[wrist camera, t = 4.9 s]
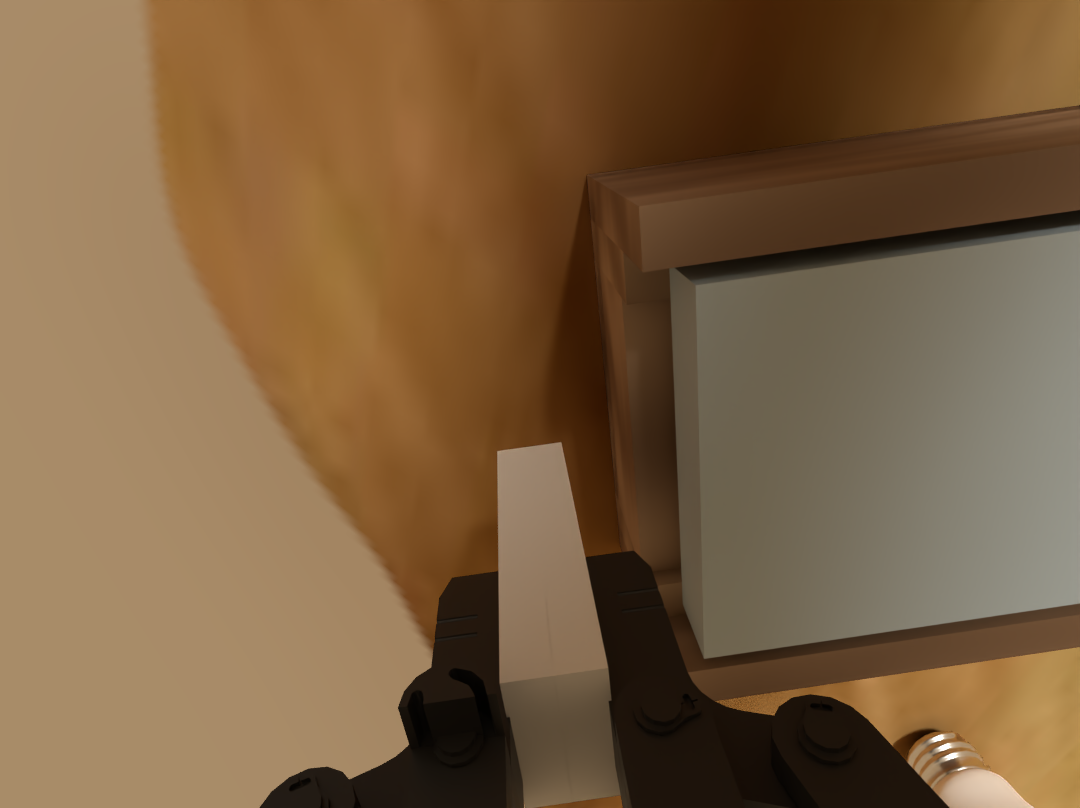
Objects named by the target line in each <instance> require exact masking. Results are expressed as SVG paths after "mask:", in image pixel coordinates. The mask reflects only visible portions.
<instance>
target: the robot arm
mask: <svg viewBox="0 0 1080 808" xmlns="http://www.w3.org/2000/svg"><path fill="white" fill-rule="evenodd" d="M497 469H498V571H497V572H490V573H483V574H476V575H469V576H462V577H455V578H452V579H451V581H450V582H449V584H448V585H447V587H446V588H445V590H444V592H443V593H442V595H441V596H440V598H439V606H438V614H437V624H436V632H435V643H434V649H433V658H432V667H431V668H430V669H428V670H427V671H426V672H424V673H422V674H421V675H419V676H418V677H416V678H415V679H414V681H413V682H412V683H411V684H410V685H409V686H408V688H407V689H406V690H405V691H404V694H403V696H402V699H401V701H400V704H399V707H398V709H399V712H400V715H401V719H402V722H403V725H404V729H405V732H406V735H407V738H408V741H409V745H408V747H406V748H405V749H404V750H403V751H402V752H401V753H400V754H398V755H397V756H396V757H394V758H393V759H391V760H389V761H387V762H386V763H384V764H382V765H380V766H378V767H376V768H374V769H371V770H370V771H367V772H365V773H363V774H361V775H358V776H356V777H354V778H352V779H350V780H349V779H348V778H347V777H346V776H345V774H344V773H343V772H341V771H338V770H335V769H332V768H329V767H320V768H311V769H307V770H305V771H303V772H300V773H298V774H296V775H294V776H292V777H289V778H288V779H287V780H286V781H284V782H283V783H282V784H281V785H279V786H278V787H277V788H276V789H274V790H273V791H272V792H271V793H270V795H269V796H268V797H267V799H266V800H265V801H264V803H263V804H262V805H261V806H260V808H524V804H525V808H536V807H543V806H550V805H557V804H564V803H570V802H577V801H584V800H591V799H598V798H605V797H612V796H619V795H621V799H622V804H623V808H949V806H948V805H947V804H946V803H945V802H944V801H943V800H942V799H941V798H940V797H939V796H938V795H937V794H936V793H935V791H934V790H933V789H932V788H931V787H930V786H929V785H928V784H927V783H926V782H925V781H924V780H923V779H922V777H921V776H920V775H919V774H918V773H917V772H916V771H915V770H914V769H913V768H912V767H911V766H910V765H909V764H908V762H907V761H906V760H905V759H904V758H903V757H902V756H901V755H900V754H899V753H898V752H897V751H896V750H895V748H894V747H893V746H892V745H891V744H890V743H889V742H888V741H887V740H886V739H885V738H884V737H883V736H882V735H881V733H880V732H879V731H878V730H877V729H876V728H875V727H874V726H873V725H872V724H871V723H870V722H869V721H868V720H867V719H866V718H865V717H864V716H862V715H861V714H860V713H859V712H857V711H856V710H855V709H854V708H852V707H851V706H849V705H847V704H845V703H842V702H840V701H838V700H836V699H833V698H831V697H825V696H818V695H811V694H810V695H804V696H799V697H793V698H791V699H790V700H788V701H787V702H785V703H784V704H782V705H781V706H779V708H778V710H777V712H776V714H775V716H772V715H766V714H759V713H753V712H746V711H741V710H737V709H733V708H729V707H726V706H724V705H722V704H719V703H717V702H715V701H713V700H712V699H710V698H709V697H708V696H706V695H705V694H704V693H702V692H701V691H700V690H699V688H698V687H697V686H696V685H695V684H694V683H693V681H692V679H691V677H690V675H689V673H688V672H687V669H686V666H685V663H684V660H683V657H682V655H681V652H680V649H679V646H678V643H677V640H676V637H675V635H674V632H673V629H672V626H671V623H670V620H669V617H668V615H667V612H666V609H665V608H664V603H663V600H662V597H661V594H660V592H659V591H658V586H657V583H656V580H655V577H654V574H653V572H652V569H651V566H650V565H649V564H648V563H646V562H645V561H644V560H643V559H642V558H641V557H640V556H639V555H638V554H637V553H636V552H635V551H627V552H620V553H613V554H606V555H598V556H591V557H585V554H584V549H583V544H582V539H581V535H580V530H579V525H578V520H577V515H576V511H575V506H574V501H573V496H572V491H571V486H570V482H569V477H568V472H567V467H566V462H565V458H564V453H563V448H562V443H561V442H559V443H552V444H545V445H538V446H530V447H523V448H516V449H509V450H502V451H497Z"/></svg>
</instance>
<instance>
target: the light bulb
mask: <svg viewBox="0 0 1080 808" xmlns="http://www.w3.org/2000/svg"><path fill="white" fill-rule="evenodd" d="M906 759H907V762H908V764H909V765H910V766H911V767H912V768H913V769H914V770H915V771H916V772H917V773H918V774H919V775H920V776H921V777H922V779H923V780H924V781H925V782H926V783H927V784H928V785H929V786H930V787H931V788H932V789H933V790H934V791H935V793H936V794H937V795H938V796H939V797H940V798H941V799H942V800H943V801H944V802H945V803H946V804H947V805H948V806H949V808H1034V807H1032V806H1031V805H1030V804H1028V803H1027V802H1026V801H1025V800H1024V799H1023V798H1022V797H1021V796H1020V795H1019V794H1018V793H1017V792H1016V791H1015V790H1014V789H1013V788H1012V786H1011V785H1010V784H1009V783H1008V782H1007V781H1006V780H1005V779H1003V778H1002V777H1001V776H999V775H998V774H995V773H993V772H991V770H990V766H988V765H984V762H983V757H982V756H981V755H979V754H978V753H977V752H976V748H975V747H974V746H973V745H971V744H970V743H969V742H966V741H965V739H964V738H963V737H961V736H960V735H959V734H958V733H955V732H953V731H949V732H948V731H943V732H933V733H929V734H926V735H924V736H922V737H921V738H920V739H918V740H917V741H916V742H915V743H914V745H913V746H912V747H911V748H910V750H909V752H908V755H907V758H906Z"/></svg>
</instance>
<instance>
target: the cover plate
mask: <svg viewBox="0 0 1080 808" xmlns="http://www.w3.org/2000/svg"><path fill="white" fill-rule="evenodd" d="M669 273H670V298H671V323H672V348H673V373H674V398H675V423H676V449H677V474H678V499H679V524H680V549H681V574H682V599H683V606H684V609H685V611H686V614H687V616H688V619H689V622H690V624H691V627H692V629H693V632H694V634H695V637H696V640H697V642H698V645H699V647H700V650H701V652H702V655H703V658H704V659H707V658H714V657H720V656H727V655H734V654H741V653H747V652H754V651H761V650H768V649H775V648H781V647H788V646H795V645H802V644H808V643H815V642H822V641H829V640H836V639H842V638H849V637H856V636H863V635H869V634H876V633H883V632H890V631H897V630H903V629H910V628H917V627H924V626H930V625H937V624H944V623H951V622H958V621H964V620H971V619H978V618H985V617H991V616H998V615H1005V614H1012V613H1019V612H1025V611H1032V610H1039V609H1046V608H1052V607H1059V606H1066V605H1073V604H1080V210H1076V211H1069V212H1062V213H1055V214H1048V215H1041V216H1034V217H1027V218H1020V219H1013V220H1006V221H999V222H992V223H985V224H978V225H971V226H964V227H957V228H950V229H942V230H935V231H928V232H921V233H914V234H907V235H900V236H893V237H886V238H879V239H872V240H865V241H858V242H851V243H844V244H837V245H830V246H823V247H816V248H809V249H802V250H795V251H788V252H781V253H774V254H767V255H760V256H753V257H746V258H739V259H732V260H725V261H718V262H711V263H704V264H697V265H690V266H683V267H676V268H669Z"/></svg>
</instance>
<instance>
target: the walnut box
mask: <svg viewBox="0 0 1080 808" xmlns="http://www.w3.org/2000/svg"><path fill="white" fill-rule="evenodd" d="M587 183H588V195H589V206H590V217H591V228H592V239H593V250H594V261H595V272H596V283H597V294H598V306H599V317H600V328H601V339H602V350H603V361H604V372H605V383H606V394H607V406H608V417H609V428H610V439H611V450H612V461H613V472H614V483H615V494H616V506H617V517H618V528H619V539H620V547H621V550H622V552H627V551H635V552H636V553H637V554H638V555H639V556H640V557H641V558H642V559H643V560H644V561H645V562H646V563H648V564H649V565H650V566H651V569H652V572H653V574H654V577H655V580H656V583H657V586H658V591H659V592H660V594H661V597H662V600H663V603H664V608H665V609H666V612H667V615H668V617H669V620H670V623H671V626H672V629H673V632H674V635H675V637H676V640H677V643H678V646H679V649H680V652H681V655H682V657H683V660H684V663H685V666H686V669H687V672H688V673H689V675H690V677H691V679H692V681H693V683H694V684H695V685H696V686H697V687H698V688H699V690H700V691H701V692H702V693H704V694H705V695H706V696H708V697H709V698H710V699H712V700H713V701H718V700H725V699H732V698H739V697H745V696H752V695H759V694H766V693H772V692H779V691H786V690H793V689H799V688H806V687H813V686H820V685H826V684H833V683H840V682H847V681H853V680H860V679H867V678H874V677H880V676H887V675H894V674H901V673H907V672H914V671H921V670H928V669H934V668H941V667H948V666H955V665H961V664H968V663H975V662H982V661H988V660H995V659H1002V658H1009V657H1015V656H1022V655H1029V654H1036V653H1042V652H1049V651H1056V650H1063V649H1069V648H1076V647H1080V604H1073V605H1066V606H1059V607H1052V608H1046V609H1039V610H1032V611H1025V612H1019V613H1012V614H1005V615H998V616H991V617H985V618H978V619H971V620H964V621H958V622H951V623H944V624H937V625H930V626H924V627H917V628H910V629H903V630H897V631H890V632H883V633H876V634H869V635H863V636H856V637H849V638H842V639H836V640H829V641H822V642H815V643H808V644H802V645H795V646H788V647H781V648H775V649H768V650H761V651H754V652H747V653H741V654H734V655H727V656H720V657H714V658H707V659H704V658H703V655H702V652H701V650H700V647H699V645H698V642H697V640H696V637H695V634H694V632H693V629H692V627H691V624H690V622H689V619H688V616H687V614H686V611H685V609H684V606H683V599H682V574H681V549H680V524H679V499H678V474H677V449H676V423H675V398H674V373H673V348H672V323H671V298H670V273H669V268H676V267H683V266H690V265H697V264H704V263H711V262H718V261H725V260H732V259H739V258H746V257H753V256H760V255H767V254H774V253H781V252H788V251H795V250H802V249H809V248H816V247H823V246H830V245H837V244H844V243H851V242H858V241H865V240H872V239H879V238H886V237H893V236H900V235H907V234H914V233H921V232H928V231H935V230H942V229H950V228H957V227H964V226H971V225H978V224H985V223H992V222H999V221H1006V220H1013V219H1020V218H1027V217H1034V216H1041V215H1048V214H1055V213H1062V212H1069V211H1076V210H1080V105H1079V106H1072V107H1065V108H1058V109H1051V110H1044V111H1037V112H1030V113H1023V114H1015V115H1008V116H1001V117H994V118H987V119H980V120H973V121H966V122H959V123H952V124H945V125H938V126H930V127H923V128H916V129H909V130H902V131H895V132H888V133H881V134H874V135H867V136H860V137H852V138H845V139H838V140H831V141H824V142H817V143H810V144H803V145H796V146H789V147H782V148H775V149H767V150H760V151H753V152H746V153H739V154H732V155H725V156H718V157H711V158H704V159H697V160H690V161H682V162H675V163H668V164H661V165H654V166H647V167H640V168H633V169H626V170H619V171H612V172H604V173H597V174H590V175H587Z"/></svg>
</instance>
